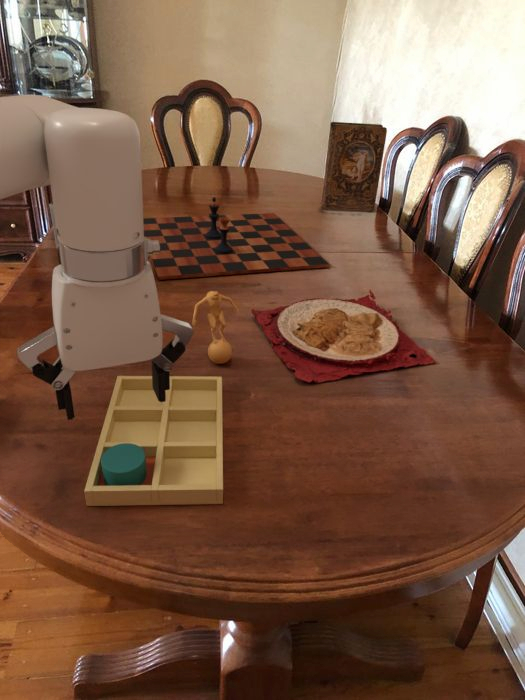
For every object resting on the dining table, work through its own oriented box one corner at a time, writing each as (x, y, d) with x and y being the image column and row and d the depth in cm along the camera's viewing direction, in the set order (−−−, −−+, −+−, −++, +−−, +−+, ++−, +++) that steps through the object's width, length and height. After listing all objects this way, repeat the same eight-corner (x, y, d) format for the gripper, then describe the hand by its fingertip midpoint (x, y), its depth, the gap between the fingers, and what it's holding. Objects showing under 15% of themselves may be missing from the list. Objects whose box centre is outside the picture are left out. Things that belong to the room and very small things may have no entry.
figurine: (201, 373, 83) (201, 306, 77) (187, 355, 88) (185, 290, 82) (247, 362, 87) (250, 296, 81) (231, 345, 91) (233, 281, 85)
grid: (86, 506, 59) (84, 491, 58) (118, 388, 79) (117, 375, 78) (222, 504, 61) (223, 489, 60) (221, 389, 80) (222, 376, 79)
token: (100, 492, 61) (97, 473, 59) (107, 461, 65) (105, 443, 63) (144, 491, 61) (142, 472, 59) (148, 461, 65) (147, 442, 64)
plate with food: (250, 318, 101) (250, 302, 99) (367, 301, 109) (370, 286, 107) (298, 389, 82) (300, 371, 80) (436, 363, 90) (441, 346, 88)
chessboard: (136, 222, 144) (133, 181, 139) (273, 216, 156) (276, 178, 150) (158, 281, 112) (156, 231, 107) (328, 268, 124) (334, 222, 118)
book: (322, 210, 165) (332, 124, 152) (319, 205, 169) (329, 121, 156) (373, 212, 166) (387, 127, 153) (370, 207, 170) (383, 124, 157)
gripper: (182, 235, 55) (182, 371, 64) (-1, 248, 48) (27, 398, 57) (205, 263, 49) (201, 408, 58) (1, 282, 42) (33, 442, 51)
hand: (115, 403), depth 57 cm, fingers open, 9 cm apart
